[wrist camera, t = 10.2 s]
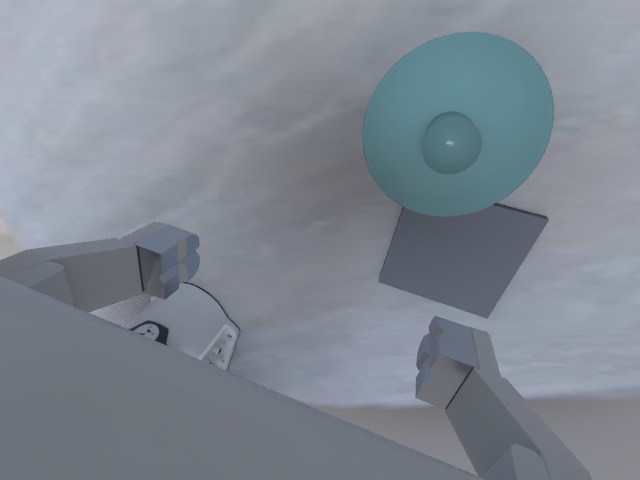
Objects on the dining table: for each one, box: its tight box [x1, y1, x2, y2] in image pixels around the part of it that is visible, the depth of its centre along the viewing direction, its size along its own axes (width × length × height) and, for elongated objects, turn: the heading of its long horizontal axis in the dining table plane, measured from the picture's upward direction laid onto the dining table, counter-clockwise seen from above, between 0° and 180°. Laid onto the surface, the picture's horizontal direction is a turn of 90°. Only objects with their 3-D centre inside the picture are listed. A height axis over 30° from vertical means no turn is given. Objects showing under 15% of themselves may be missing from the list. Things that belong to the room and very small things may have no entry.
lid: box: [363, 32, 554, 217], centre depth 20 cm, size 12×12×5 cm
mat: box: [378, 203, 548, 318], centre depth 36 cm, size 14×14×1 cm
